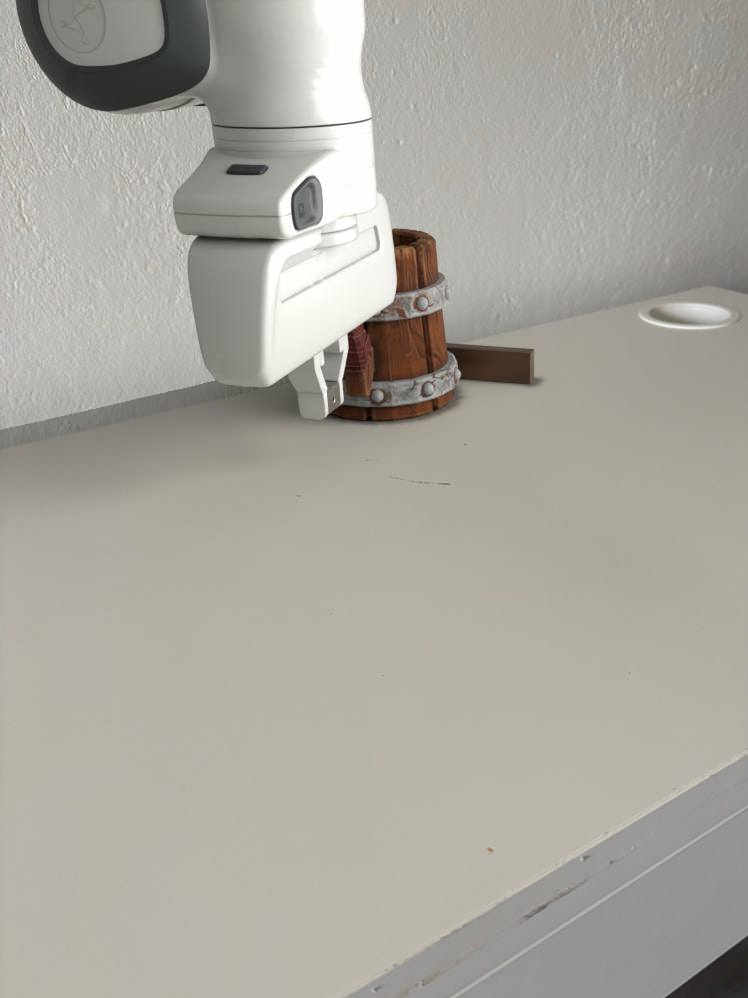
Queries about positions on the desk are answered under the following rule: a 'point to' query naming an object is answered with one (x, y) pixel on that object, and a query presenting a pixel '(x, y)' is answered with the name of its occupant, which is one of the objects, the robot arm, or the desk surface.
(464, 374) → the rail
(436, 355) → the mug
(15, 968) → the desk surface
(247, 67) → the robot arm
